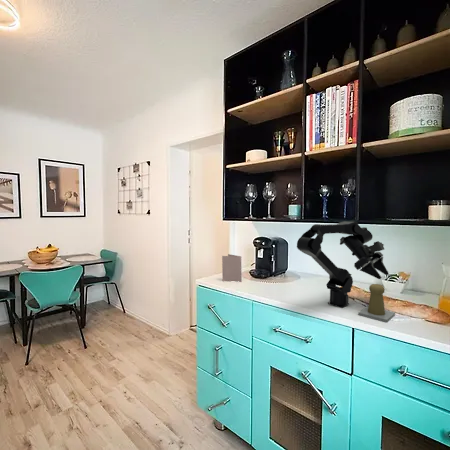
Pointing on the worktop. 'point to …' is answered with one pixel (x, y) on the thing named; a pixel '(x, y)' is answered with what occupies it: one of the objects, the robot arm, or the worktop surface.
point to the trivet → (383, 318)
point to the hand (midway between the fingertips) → (384, 276)
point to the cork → (376, 300)
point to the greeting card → (231, 268)
